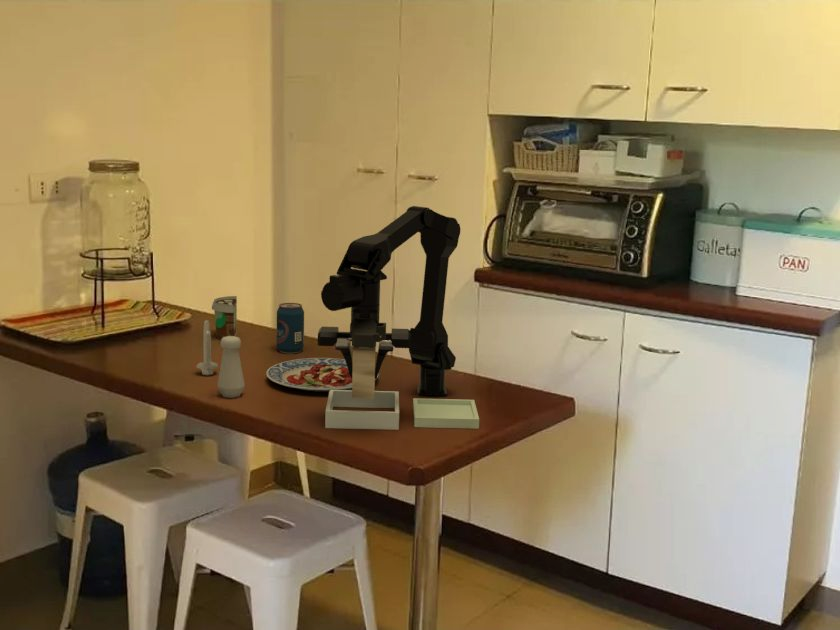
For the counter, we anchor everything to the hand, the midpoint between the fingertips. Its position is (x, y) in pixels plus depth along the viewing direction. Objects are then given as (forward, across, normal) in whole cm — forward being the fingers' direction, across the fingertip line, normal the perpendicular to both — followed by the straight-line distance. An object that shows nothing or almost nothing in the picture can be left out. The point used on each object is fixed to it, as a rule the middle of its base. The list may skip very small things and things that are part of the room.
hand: (363, 378), depth 205 cm
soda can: (+9, -20, +52) cm, 56 cm away
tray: (+8, +17, +1) cm, 19 cm away
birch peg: (+4, 0, 0) cm, 4 cm away
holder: (+8, 0, 0) cm, 8 cm away
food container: (+9, -39, +65) cm, 76 cm away
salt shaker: (+9, -29, +13) cm, 33 cm away
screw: (+9, -37, +29) cm, 48 cm away
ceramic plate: (+9, -10, +26) cm, 29 cm away
